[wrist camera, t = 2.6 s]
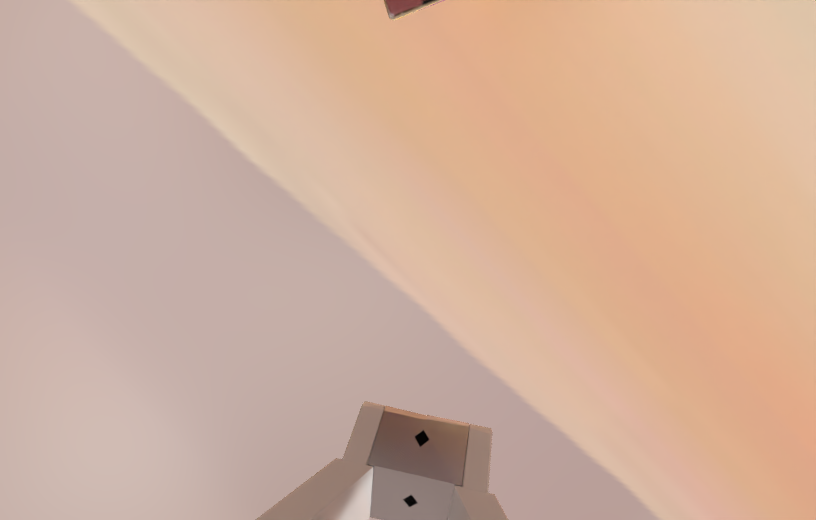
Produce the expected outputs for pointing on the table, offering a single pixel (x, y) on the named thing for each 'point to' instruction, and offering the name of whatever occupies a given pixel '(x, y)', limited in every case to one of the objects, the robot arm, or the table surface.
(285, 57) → the table surface
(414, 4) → the candy box
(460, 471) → the robot arm
